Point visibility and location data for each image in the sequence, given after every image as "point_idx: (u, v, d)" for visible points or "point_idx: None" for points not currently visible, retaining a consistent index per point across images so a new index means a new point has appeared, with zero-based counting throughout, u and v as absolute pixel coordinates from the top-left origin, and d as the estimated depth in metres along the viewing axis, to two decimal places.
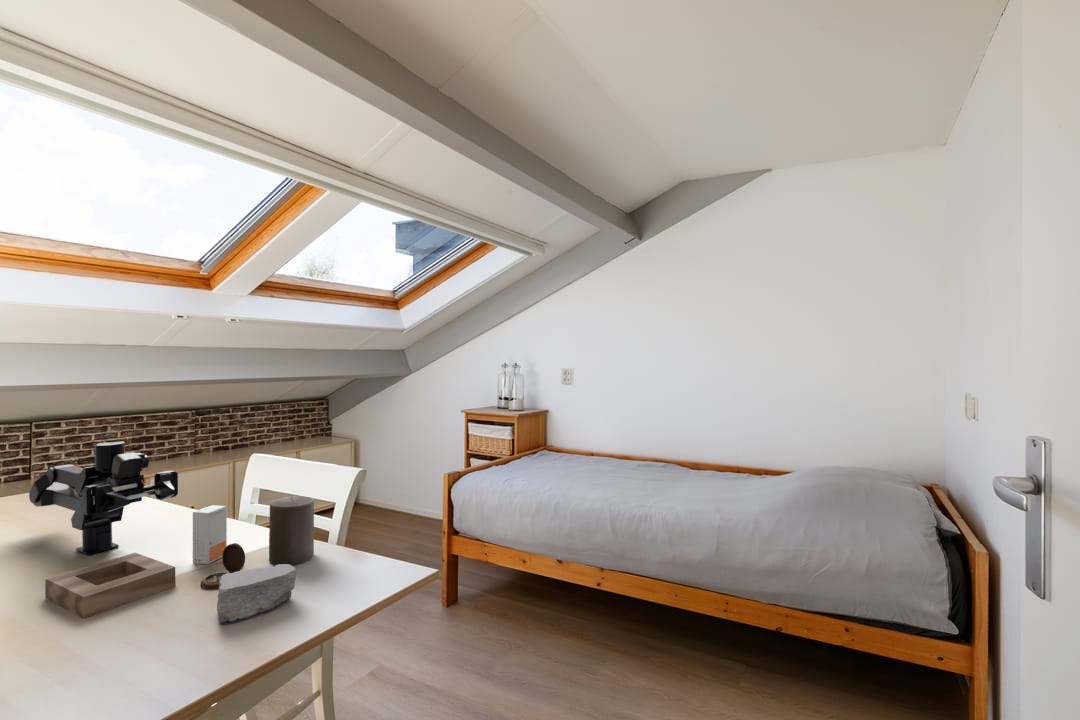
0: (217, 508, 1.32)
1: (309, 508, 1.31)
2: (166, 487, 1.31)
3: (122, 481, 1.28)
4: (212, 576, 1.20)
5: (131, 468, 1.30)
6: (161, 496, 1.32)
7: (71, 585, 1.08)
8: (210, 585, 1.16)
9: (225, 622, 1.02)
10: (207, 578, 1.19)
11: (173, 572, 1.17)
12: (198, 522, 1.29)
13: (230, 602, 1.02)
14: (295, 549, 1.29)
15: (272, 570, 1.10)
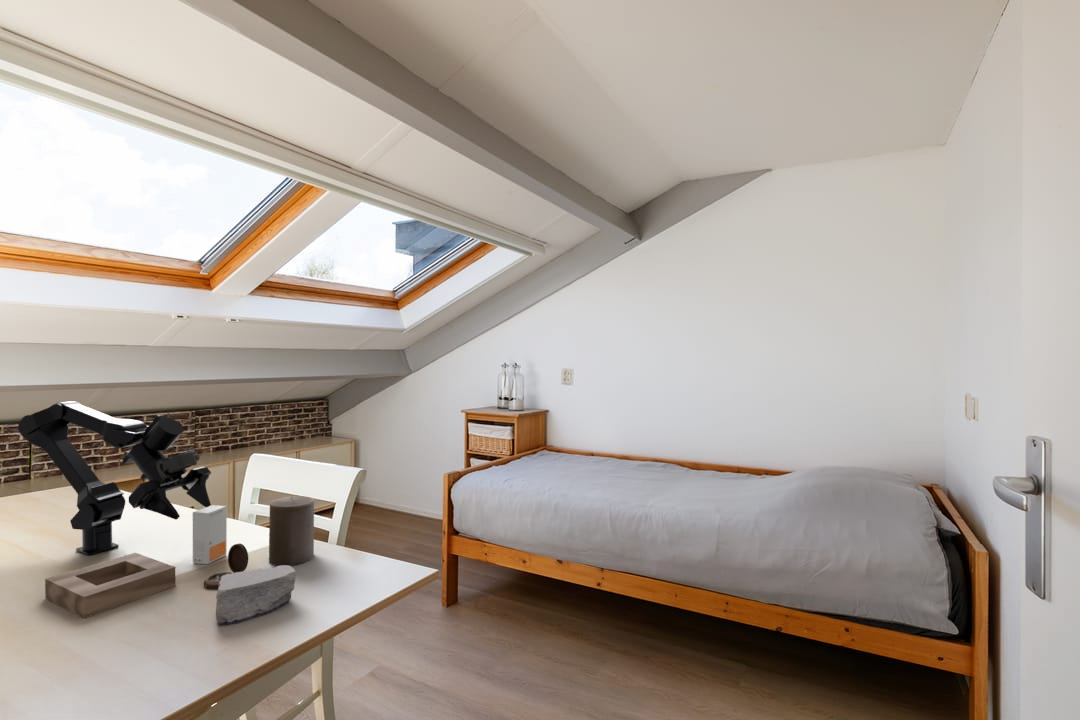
0: (217, 508, 1.32)
1: (309, 508, 1.31)
2: (202, 494, 1.37)
3: (170, 476, 1.32)
4: (216, 576, 1.21)
5: (183, 467, 1.33)
6: (189, 492, 1.38)
7: (71, 585, 1.08)
8: (212, 585, 1.16)
9: (223, 623, 1.01)
10: (211, 577, 1.20)
11: (173, 572, 1.17)
12: (198, 522, 1.29)
13: (228, 603, 1.02)
14: (295, 548, 1.29)
15: (272, 571, 1.10)
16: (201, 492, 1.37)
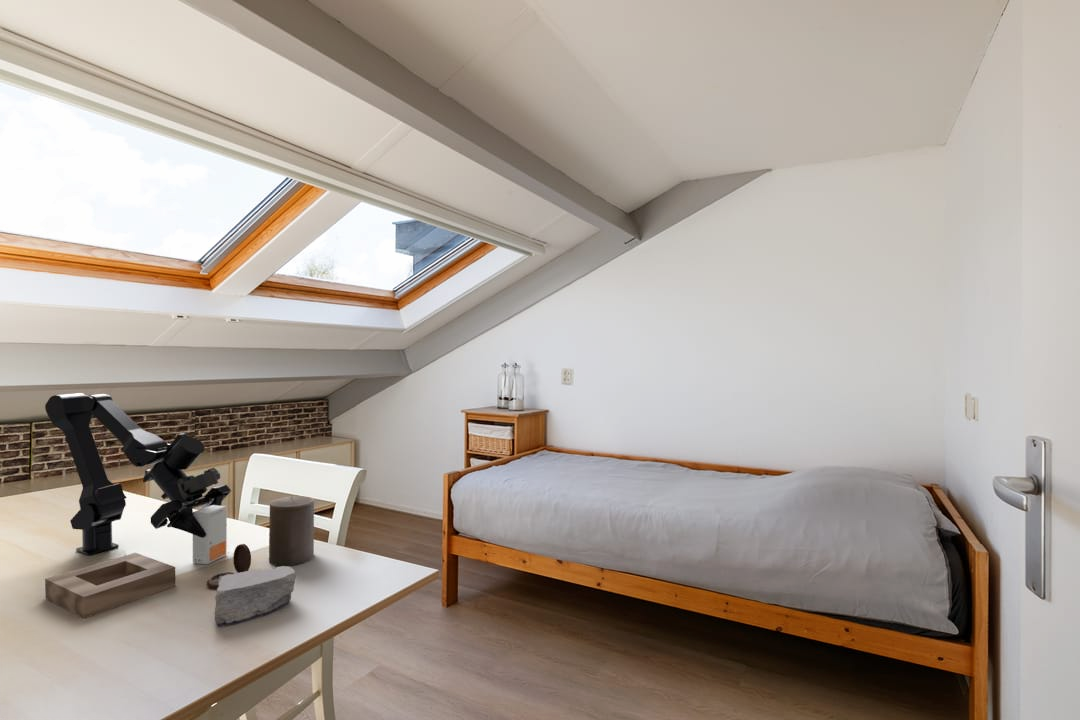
0: (217, 508, 1.32)
1: (309, 508, 1.31)
2: None
3: (191, 496, 1.31)
4: (221, 575, 1.21)
5: None
6: None
7: (71, 585, 1.08)
8: (213, 585, 1.16)
9: (222, 624, 1.01)
10: (215, 577, 1.20)
11: (173, 572, 1.17)
12: (198, 522, 1.29)
13: (227, 604, 1.02)
14: (295, 548, 1.29)
15: (272, 572, 1.09)
16: None
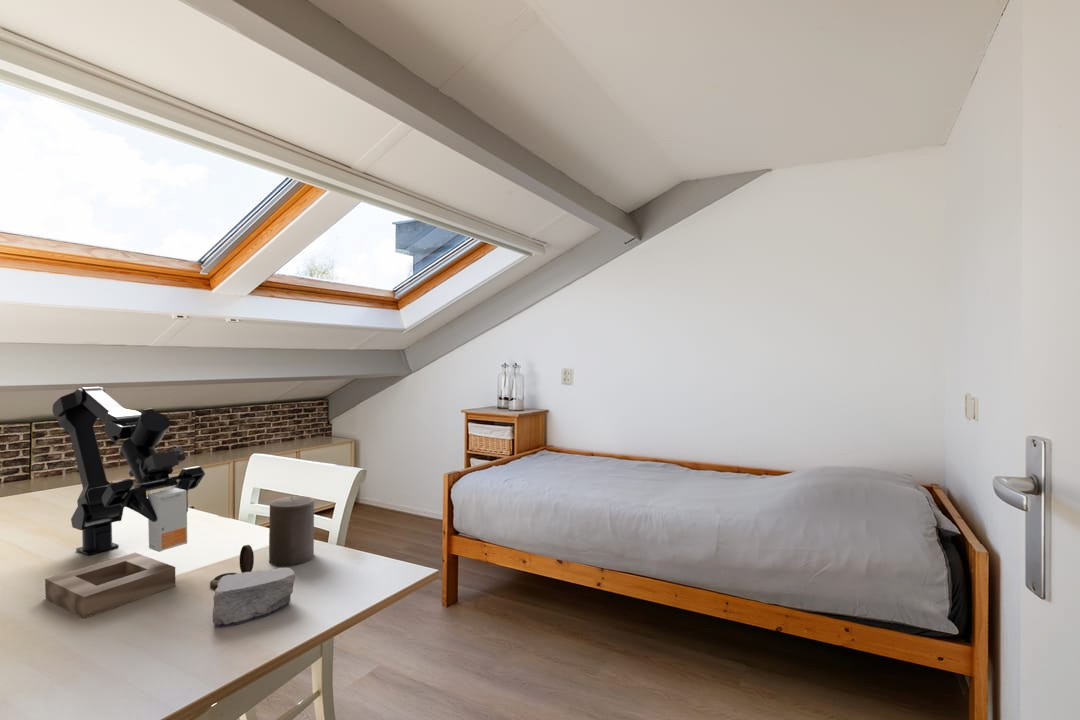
0: (174, 492, 1.22)
1: (309, 508, 1.31)
2: None
3: (150, 476, 1.22)
4: None
5: (164, 467, 1.23)
6: None
7: (71, 585, 1.08)
8: (215, 585, 1.16)
9: (220, 625, 1.01)
10: (220, 577, 1.20)
11: (173, 572, 1.17)
12: (151, 505, 1.20)
13: (225, 605, 1.01)
14: (295, 548, 1.29)
15: (271, 573, 1.09)
16: None
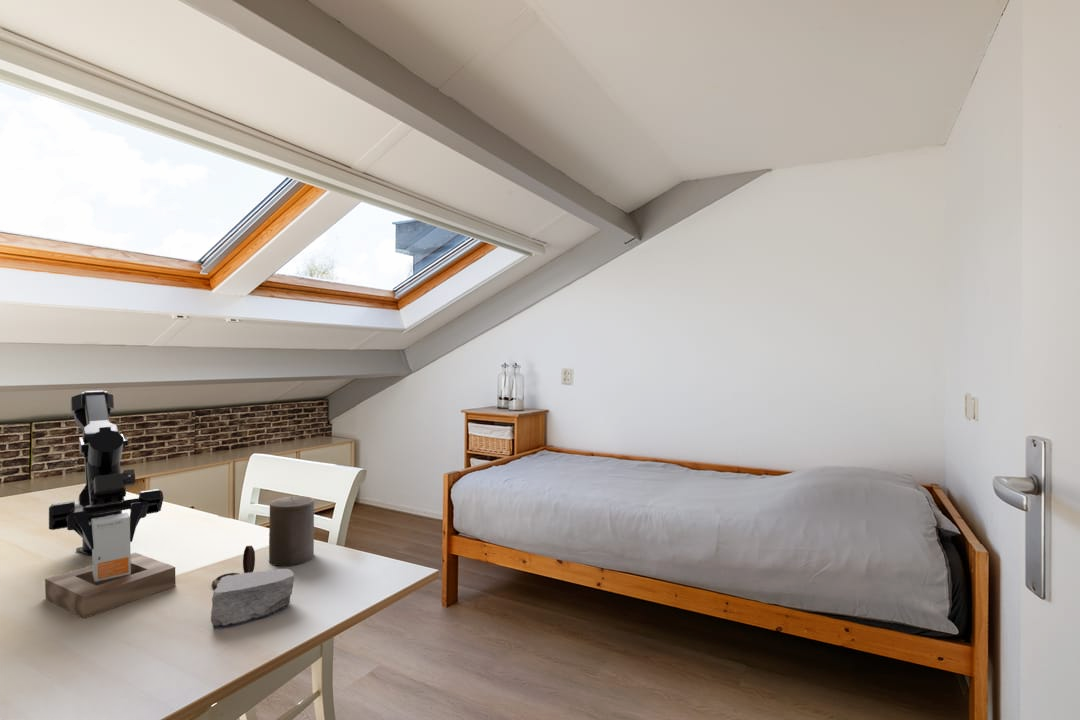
0: (115, 518, 1.13)
1: (309, 508, 1.31)
2: None
3: (99, 498, 1.16)
4: None
5: (111, 490, 1.15)
6: None
7: (71, 585, 1.08)
8: (216, 585, 1.16)
9: (218, 626, 1.00)
10: None
11: (173, 572, 1.17)
12: (92, 531, 1.12)
13: (223, 606, 1.01)
14: (295, 548, 1.29)
15: (271, 575, 1.08)
16: (130, 522, 1.17)
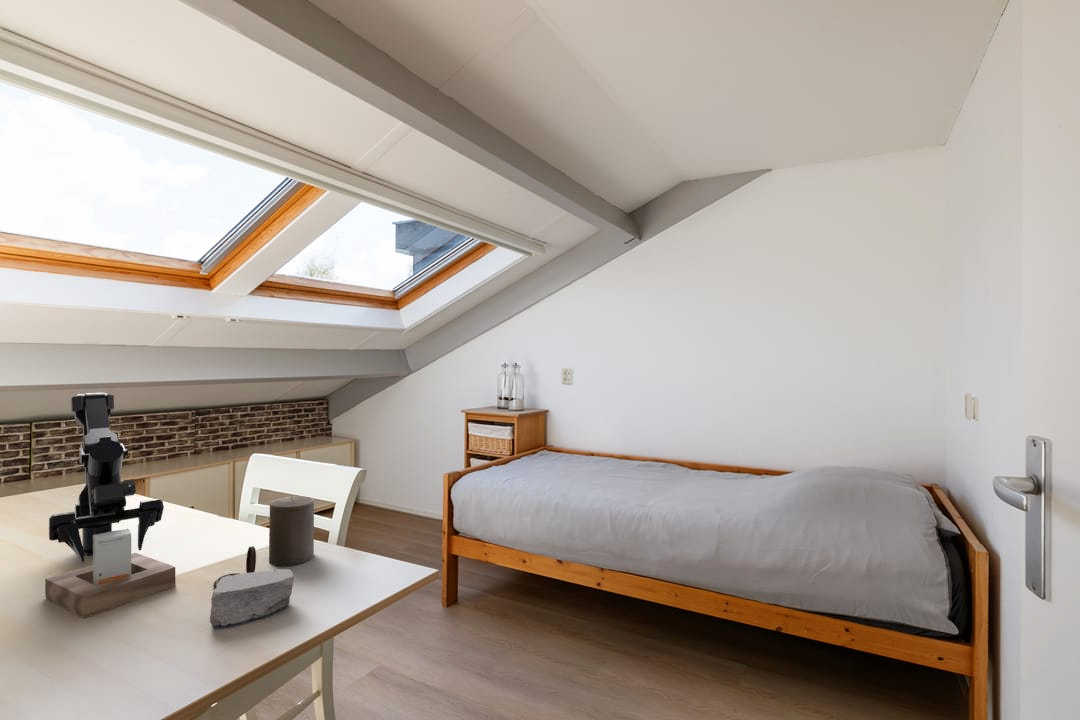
0: (117, 534, 1.14)
1: (309, 508, 1.31)
2: (138, 533, 1.18)
3: (99, 509, 1.15)
4: None
5: (111, 500, 1.15)
6: (138, 527, 1.21)
7: (71, 585, 1.08)
8: None
9: (217, 626, 1.00)
10: None
11: (173, 572, 1.17)
12: (93, 548, 1.13)
13: (223, 607, 1.01)
14: (295, 548, 1.29)
15: (271, 575, 1.08)
16: (139, 530, 1.18)
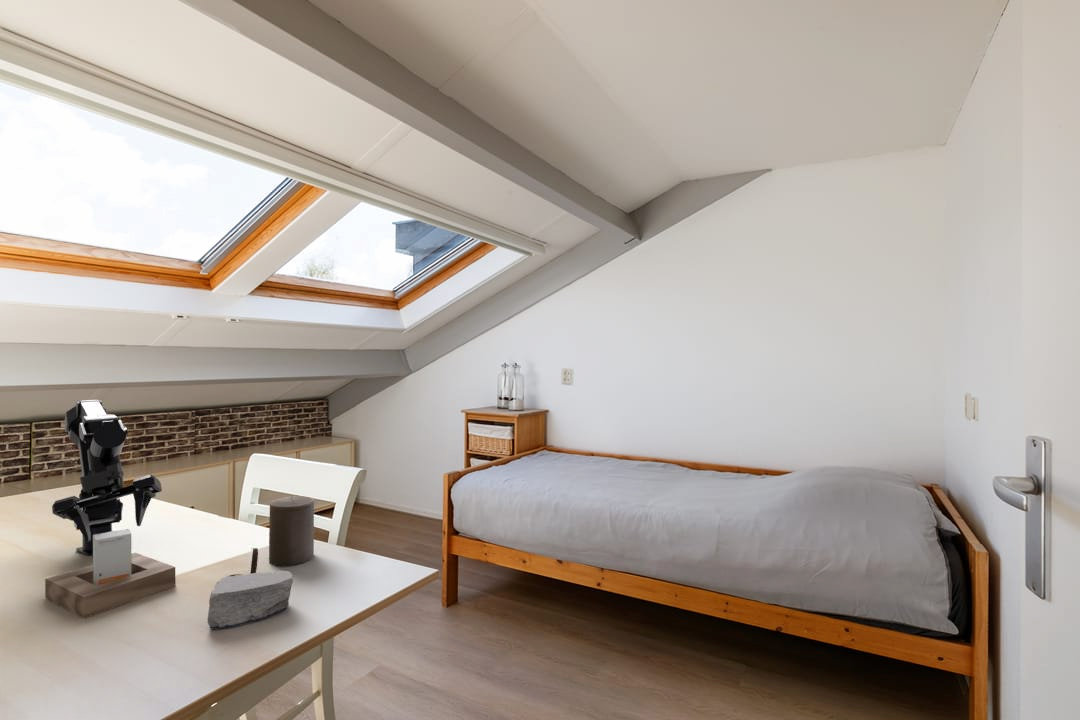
0: (117, 534, 1.14)
1: (309, 508, 1.31)
2: None
3: (95, 491, 1.23)
4: None
5: None
6: None
7: (71, 585, 1.08)
8: None
9: (215, 627, 1.00)
10: None
11: (173, 572, 1.17)
12: (93, 548, 1.13)
13: (220, 608, 1.00)
14: (295, 548, 1.29)
15: (270, 577, 1.07)
16: None
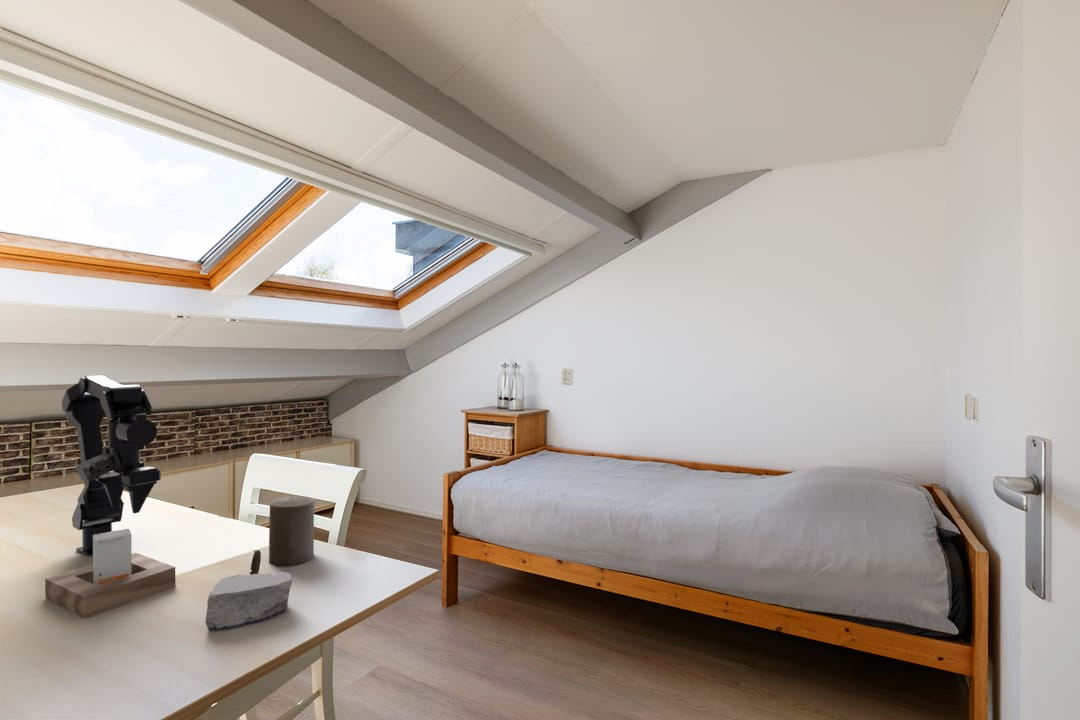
0: (117, 534, 1.14)
1: (309, 508, 1.31)
2: None
3: None
4: None
5: None
6: None
7: (71, 585, 1.08)
8: None
9: (213, 628, 1.00)
10: None
11: (173, 572, 1.17)
12: (93, 548, 1.13)
13: (218, 609, 1.00)
14: (295, 548, 1.29)
15: (269, 578, 1.07)
16: None
